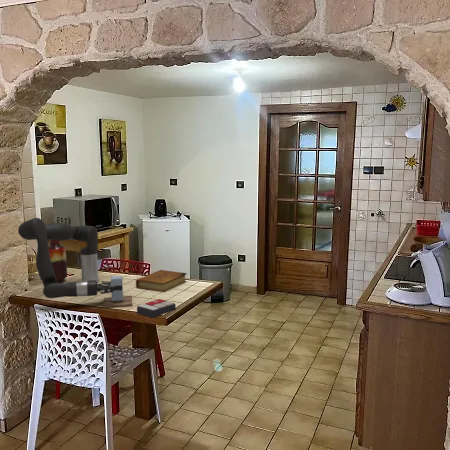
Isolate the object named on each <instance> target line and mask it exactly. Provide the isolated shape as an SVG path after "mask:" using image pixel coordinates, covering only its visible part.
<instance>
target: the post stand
mask: <svg viewBox="0 0 450 450" xmlns="http://www.w3.org/2000/svg"><path fill="white" fill-rule="evenodd" d="M102 302H103V303H102V309H112V308H113V309H115V308H127V307H133V296H132V295H123V300H120V301H112V296H110V297H104V298H103V301H102Z"/></svg>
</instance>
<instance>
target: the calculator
mask: <svg viewBox="0 0 450 450" xmlns="http://www.w3.org/2000/svg"><path fill="white" fill-rule="evenodd" d="M174 310H176V303H175V302H173V301H169V300H164V299H160V298H159V299H155V300H152V301H149V302H145V303H142V304H139V305H137V306H136V314H138V315H142V316H145V317H148V318H151V319H155V318H157V317H160V316H161V315H164V314H166V313H169V312H172V311H174Z"/></svg>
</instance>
